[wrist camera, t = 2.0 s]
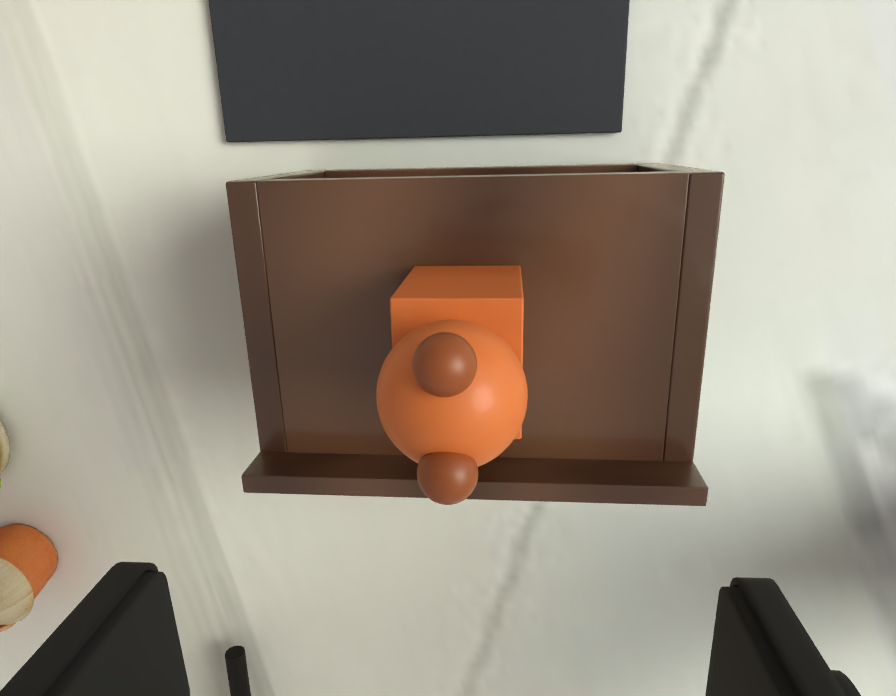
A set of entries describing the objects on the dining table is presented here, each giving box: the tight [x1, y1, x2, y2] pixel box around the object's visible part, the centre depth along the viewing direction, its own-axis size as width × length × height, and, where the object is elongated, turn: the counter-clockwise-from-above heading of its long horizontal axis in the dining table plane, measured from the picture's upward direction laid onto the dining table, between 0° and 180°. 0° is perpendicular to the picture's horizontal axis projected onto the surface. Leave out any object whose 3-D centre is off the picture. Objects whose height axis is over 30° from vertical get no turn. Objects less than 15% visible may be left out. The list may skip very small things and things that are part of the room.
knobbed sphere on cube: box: [376, 265, 528, 505], centre depth 20 cm, size 4×5×10 cm
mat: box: [209, 0, 629, 142], centre depth 30 cm, size 20×11×1 cm, turn 91°
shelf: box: [226, 163, 724, 506], centre depth 28 cm, size 18×12×12 cm, turn 91°
